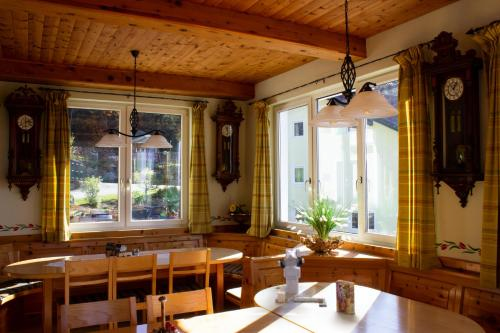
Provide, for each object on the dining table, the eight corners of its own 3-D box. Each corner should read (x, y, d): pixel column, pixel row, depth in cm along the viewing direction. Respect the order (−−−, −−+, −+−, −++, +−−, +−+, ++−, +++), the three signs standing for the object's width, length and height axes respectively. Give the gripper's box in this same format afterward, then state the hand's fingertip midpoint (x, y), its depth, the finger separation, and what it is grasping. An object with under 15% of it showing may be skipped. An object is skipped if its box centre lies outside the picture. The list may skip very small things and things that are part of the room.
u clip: (278, 299, 238) (277, 291, 238) (285, 299, 237) (285, 291, 237) (277, 302, 232) (277, 293, 232) (285, 302, 232) (284, 293, 232)
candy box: (355, 312, 215) (354, 282, 216) (350, 314, 213) (349, 283, 213) (341, 308, 222) (340, 279, 223) (336, 310, 219) (335, 280, 220)
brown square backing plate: (275, 300, 239) (275, 298, 239) (288, 300, 238) (287, 298, 238) (274, 304, 231) (274, 302, 231) (287, 304, 230) (287, 303, 230)
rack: (292, 299, 240) (292, 294, 240) (324, 299, 238) (324, 294, 238) (292, 306, 228) (292, 300, 228) (326, 306, 226) (326, 301, 226)
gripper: (278, 254, 247) (276, 260, 234) (303, 251, 245) (303, 257, 232) (279, 266, 247) (278, 272, 234) (304, 263, 245) (304, 270, 232)
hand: (290, 265), depth 233 cm, fingers open, 7 cm apart
